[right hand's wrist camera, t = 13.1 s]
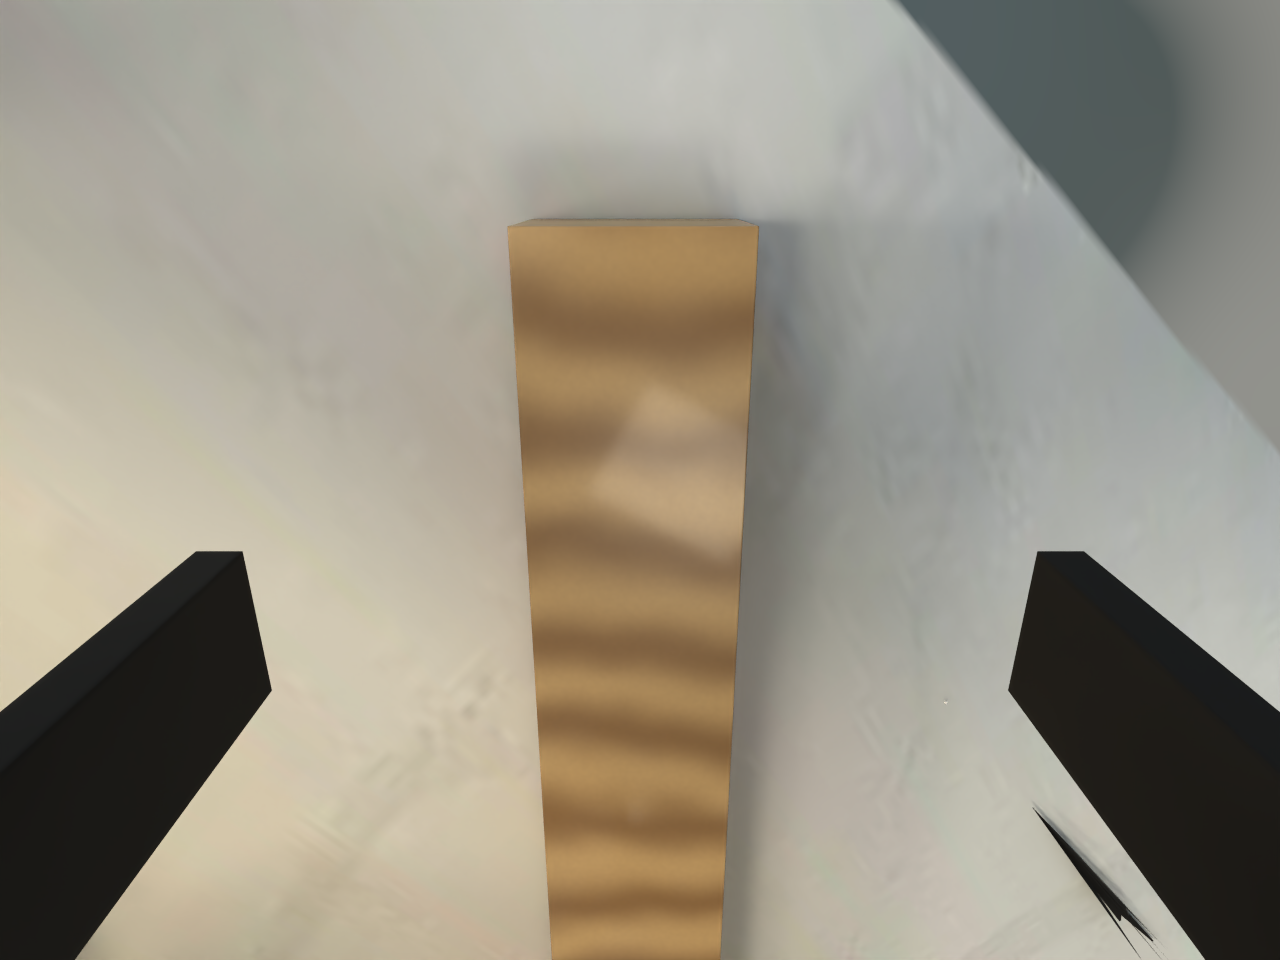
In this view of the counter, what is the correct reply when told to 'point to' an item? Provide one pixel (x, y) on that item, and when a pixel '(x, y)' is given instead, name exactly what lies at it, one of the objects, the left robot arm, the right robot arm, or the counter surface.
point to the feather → (1096, 884)
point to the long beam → (634, 565)
